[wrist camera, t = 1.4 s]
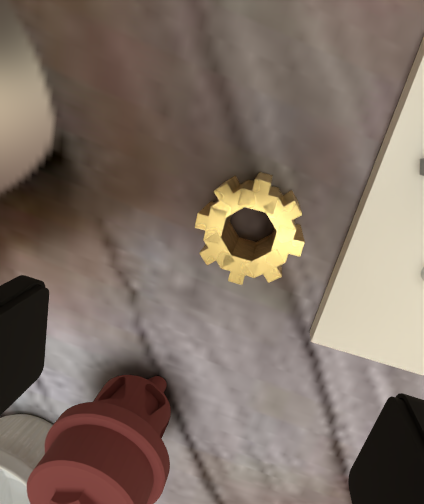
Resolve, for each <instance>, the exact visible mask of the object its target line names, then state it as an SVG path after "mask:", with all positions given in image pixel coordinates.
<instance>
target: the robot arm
mask: <svg viewBox="0 0 424 504" xmlns="http://www.w3.org/2000/svg"><path fill="white" fill-rule="evenodd" d="M48 302H49V290H48V289H47V288H45V284H44V282H43V281H40V280H37V279H34V278H31V277H28V276H24V275H21V276H18V277H16V278H14V279H12V280H11V281H9V282H7V283H5V284H3V285H1V286H0V415H1V414H2V413H3V412H4V411H5V410H6V409H7V408H9V407H10V406H11V405H12V404H13V403H14V402H15V401H16V400H17V399H18V398H19V397H20V396H21V395H22V394H23V393H24V392H25V391H26V390H27V389H28V388H29V387H30V386H31V385H32V384H33V383H34V382H35V381H36V380H37V379H38V378H39V376H40V375H41V373H42V371H43V368H44V358H45V344H46V330H47V316H48ZM349 490H350V495H351V500H352V504H424V400H422V399H418V398H415V397H412V396H409V395H406V394H402V393H401V394H398V395H397V396H396V397H390V398H388V400H387V402H386V403H385V405H384V407H383V409H382V411H381V413H380V415H379V417H378V419H377V421H376V423H375V424H374V426H373V428H372V430H371V432H370V434H369V436H368V438H367V440H366V442H365V443H364V445H363V447H362V449H361V451H360V453H359V455H358V457H357V459H356V461H355V462H354V464H353V466H352V468H351V470H350V474H349Z"/></svg>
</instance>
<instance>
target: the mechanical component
mask: <svg viewBox="0 0 424 504" xmlns="http://www.w3.org/2000/svg"><path fill="white" fill-rule="evenodd" d="M166 386H167V383H166V381H165V380H164V379H163V378H162V377H160V376H154V377H152V378H150V379H145V378H142V377H139V376H134V375H121V376H117V377H114V378H112V379H111V380H109V381H108V382H107V383H106V384H105V385H104V387H103V388H102V390H101V391H100V392H99V394H98V395H97V397H96V398H95V400H94V401H93V402H87V403H81V404H78V405H75V406H72V407H71V408H69V409H67V410H66V411H65V412H64V413H62V414H61V416H60V417H59V418H58V420H57V421H56V422H55V423H54V425H53V426H52V427H51V428H50V430H49V432H48V433H47V436H46V439H45V445H44V447H45V455H44V456H43V457H42V459H41V460H40V461H39V463H38V464H37V466H36V467H35V468H34V470H33V471H32V472H31V474H30V476H29V478H28V481H27V496H28V499H29V502H30V504H153V503H155V502H156V501H157V500H158V499H159V497H160V495H161V494H162V492H163V489H164V486H165V483H166V480H167V477H168V474H169V468H170V462H169V455H168V452H167V449H166V447H165V445H164V443H163V441H162V439H161V438H162V436H163V434H164V432H165V429H166V427H167V425H168V422H169V420H170V415H171V409H170V404H169V402H168V399H167V398H166V396H165V394H164V391H165V389H166Z"/></svg>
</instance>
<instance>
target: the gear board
mask: <svg viewBox="0 0 424 504" xmlns="http://www.w3.org/2000/svg"><path fill="white" fill-rule="evenodd" d="M310 338H311V342H313V343H317V344H320V345H323V346H327V347H330V348H333V349H337V350H340V351H343V352H347V353H350V354H353V355H357V356H360V357H363V358H367V359H370V360H373V361H377V362H380V363H383V364H387V365H390V366H393V367H397V368H400V369H403V370H407V371H410V372H413V373H417V374H420V375H423V376H424V37H423V40H422V42H421V45H420V47H419V50H418V52H417V55H416V58H415V60H414V63H413V65H412V68H411V71H410V73H409V76H408V78H407V81H406V84H405V86H404V89H403V91H402V94H401V96H400V99H399V102H398V104H397V107H396V109H395V112H394V115H393V117H392V120H391V122H390V125H389V127H388V130H387V133H386V135H385V138H384V140H383V143H382V146H381V148H380V151H379V153H378V156H377V159H376V161H375V164H374V166H373V169H372V171H371V174H370V177H369V179H368V182H367V184H366V187H365V190H364V192H363V195H362V197H361V200H360V202H359V205H358V208H357V210H356V213H355V215H354V218H353V221H352V223H351V226H350V228H349V231H348V234H347V236H346V239H345V241H344V244H343V246H342V249H341V252H340V254H339V257H338V259H337V262H336V265H335V267H334V270H333V272H332V275H331V278H330V280H329V283H328V285H327V288H326V290H325V293H324V296H323V298H322V301H321V303H320V306H319V309H318V311H317V314H316V316H315V319H314V321H313V324H312V327H311V329H310Z"/></svg>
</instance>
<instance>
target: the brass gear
mask: <svg viewBox="0 0 424 504" xmlns="http://www.w3.org/2000/svg"><path fill="white" fill-rule="evenodd" d="M272 176H273V175H269V174H265V173H261V172H259V174H258V175H257V177H256V179H255V181H251V180H247V181H245V182H244V183H242V184H240V183H239V181H238V179H237V177H236V176H234V177H232V178H231V179H229V180H227V181H226V182H224V183H223V184H222V185H221V186H219V187H218V188H217V189H216V190H215V191H214V193H215V195H216V196H217V198H218V200H217V201H216V202H211V201H210V202H209V203H208V204H207V205H206V206H205V207H204V208H203V209H202V210H201V211H200V212H199V213H198V215H197V219H196V224H195V228H198V229H201V230H205V235H204V239H203V240H204V242H205V243H206V244H205V246H204V247H203V249H202V250H201V252H200V255H201V256H202V258H203V260H204V261H205V263H206V264H207V265H209V264H211V263H212V262H214V261H217V262H218V264H219V266H220V267H221V269H225V270H228V271H231V272H230V275H229V279H228V281H230V282H234V283H237V284H241V285H242V284H243V280H244V277H245V275H246V276H249V277H253V278H255V277H257V276H259V275H261V274H263V275H264V276H265V278H266V280H267V281H268V283H269V282H271V281H273V280H276V279H278V278H280V277H282V264H284V263H285V262H286V259H287V256H288V254H292V255H296V256H299V257H300V255H301V252H302V249H303V246H304V243H305V241H304V237H303V233H302V229H301V225H298V224H295V220H294V219H295V218H297V217H299V216H301V215H302V212H301V209H300V206H299V202H298V200H297V198H296V197H295V195H294V193H293V191H292V190H291V191H290V192H288V193H286V194H284V195H282V193H281V191H280V189H279V188H278V187H274V186H271V182H272ZM244 207H247V208H250V209H254V210H258V211H262V212H265V213H267V215H268V217H269V218H270V220H271V222H272V224H273V225H274V229H273V233H272V234H270V235H269V236H267V237H265V238H263V239H261V240H259V241H257V242H254V241H251V240H247V239H244V238H240V237H239V236H238V235H237V233H236V231H235V230H234V228H233V226H232V225H231V223H230V220H231V216H232V214H233V213H235V212H237V211H238V210H240V209H242V208H244Z"/></svg>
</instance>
